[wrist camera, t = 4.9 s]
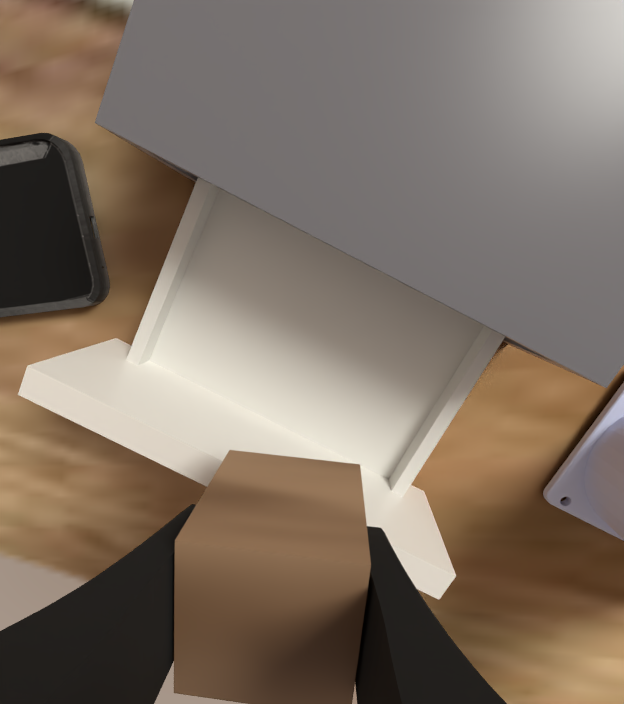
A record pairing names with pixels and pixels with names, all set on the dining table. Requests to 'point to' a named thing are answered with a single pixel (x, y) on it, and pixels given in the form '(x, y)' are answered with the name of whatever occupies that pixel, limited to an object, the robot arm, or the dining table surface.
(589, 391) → the dining table surface
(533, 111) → the box housing
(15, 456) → the dining table surface
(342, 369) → the tray
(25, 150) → the phone
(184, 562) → the walnut block
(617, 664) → the dining table surface
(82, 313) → the dining table surface
